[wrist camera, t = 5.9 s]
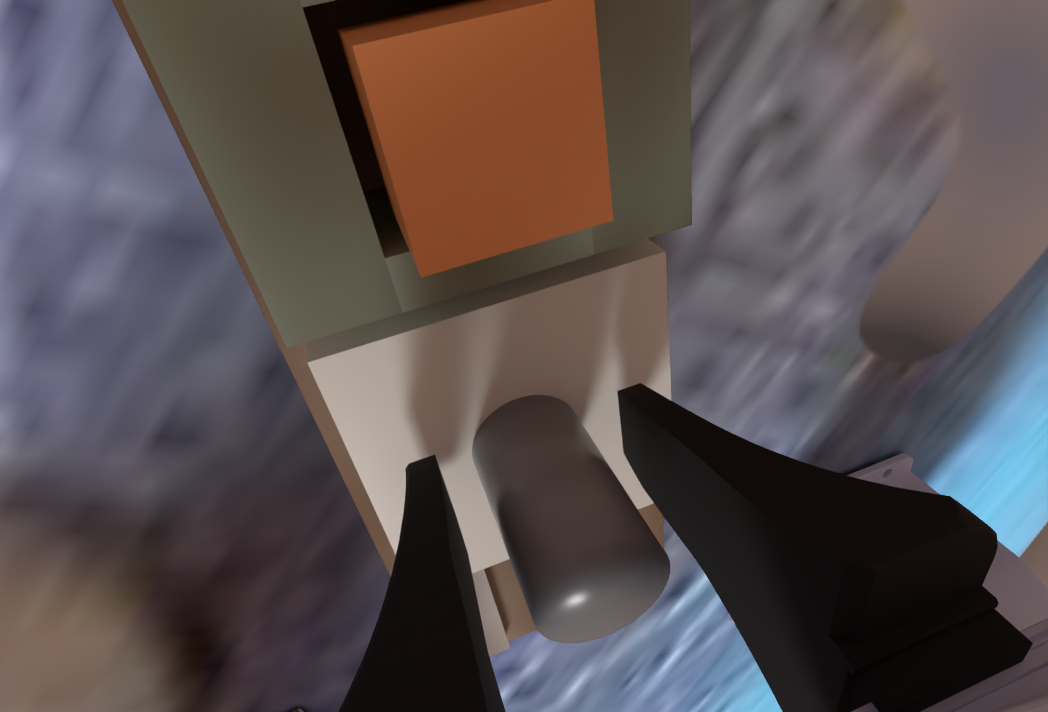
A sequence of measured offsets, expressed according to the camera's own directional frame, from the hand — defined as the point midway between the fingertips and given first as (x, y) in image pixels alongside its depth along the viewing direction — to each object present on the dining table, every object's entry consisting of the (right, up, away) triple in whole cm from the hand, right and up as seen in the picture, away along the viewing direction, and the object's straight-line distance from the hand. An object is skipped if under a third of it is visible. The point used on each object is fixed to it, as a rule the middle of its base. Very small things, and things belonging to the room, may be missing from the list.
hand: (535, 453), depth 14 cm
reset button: (-2, +7, -4) cm, 8 cm away
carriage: (-1, +1, +2) cm, 3 cm away
